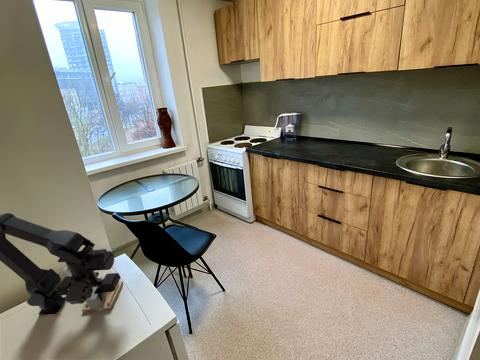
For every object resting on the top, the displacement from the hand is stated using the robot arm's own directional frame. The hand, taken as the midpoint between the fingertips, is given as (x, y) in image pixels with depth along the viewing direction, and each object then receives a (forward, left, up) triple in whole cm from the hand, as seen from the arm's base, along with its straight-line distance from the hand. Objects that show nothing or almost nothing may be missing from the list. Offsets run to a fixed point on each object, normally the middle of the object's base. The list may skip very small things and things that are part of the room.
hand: (97, 300), depth 88 cm
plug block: (0, 0, -1) cm, 1 cm away
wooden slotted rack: (0, +3, -3) cm, 4 cm away
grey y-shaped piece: (-13, +11, -3) cm, 17 cm away
